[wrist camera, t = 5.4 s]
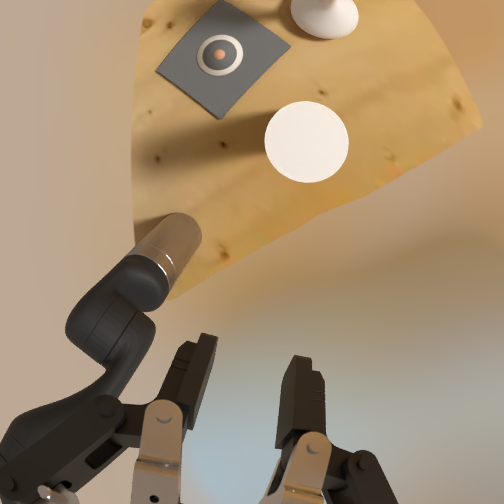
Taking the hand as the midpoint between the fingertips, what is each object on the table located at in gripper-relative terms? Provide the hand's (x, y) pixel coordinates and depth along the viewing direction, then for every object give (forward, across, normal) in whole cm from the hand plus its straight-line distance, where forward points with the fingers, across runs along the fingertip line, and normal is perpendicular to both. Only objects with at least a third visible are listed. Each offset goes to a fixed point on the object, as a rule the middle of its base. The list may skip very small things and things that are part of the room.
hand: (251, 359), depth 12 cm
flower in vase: (+41, 0, -31) cm, 52 cm away
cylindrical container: (+41, -1, -8) cm, 42 cm away
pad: (+41, +15, -18) cm, 47 cm away
